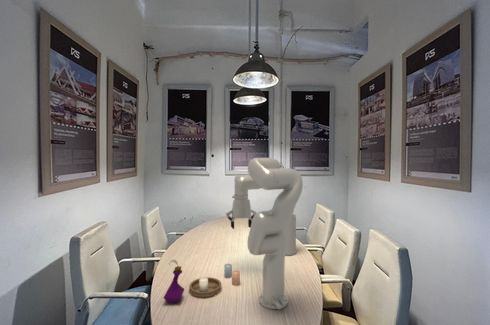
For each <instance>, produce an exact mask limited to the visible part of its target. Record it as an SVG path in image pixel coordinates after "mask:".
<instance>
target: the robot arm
mask: <svg viewBox="0 0 490 325" xmlns="http://www.w3.org/2000/svg"><path fill="white" fill-rule="evenodd" d="M247 172H248V175H246V174H245V175H243V174H242V175H241V174H240V175H238V174H237V175H235V176H234V194H233V195H232V196H231V197H232V199H233V202H232V210H229V211H228V212H226V213H225V215H226V217H227V219H228V220H229V221H230V227H231V229H233V230H234V229H235V220H236V219H248V221H247V223H248V224H247V226H248V228H249V232H248V236H247V249H248V252H249V253H250V254H251V255H253V256H262V255H264V257H263V260H262V294H260V295H259V298H258V301H259V304H260V305H261V306H262V307H263V308H266V309H269V310H281V309H283V308H286V307H287V306H288V304H289V299H288V297H287V296H286V295H285V267H286V266H285V263H286V262H285V259H286V256H285V251H286V246H287V237H286V235H285V233H284V231H286V230H287V229H288V227H289V224H290V221H291V218H292V215H293V214H294V211H295V208H296V205H297V203H298V202H299V199H300V197H301V195H302V192H303V187H304V186H303V176H302V175H301V173H300V172H299V171H298V170H296V169H294V168H286V167H285V168H281V163H280V161H279V160H278V159H277V158H273V157H254V158H251V159H250V161H249V162H248V164H247ZM259 189H262V190H264V191H265V190H266V191H272V190H273V191H274V190H275V191H277V190H282V191H281V192H280V193H279V194H278V196H277V197H275V200H274V203H273V205H272V208H271V209H269V210H263V211H259V212H256V211H255V210H253V209H252V206H251V202H250V198H249V190H259ZM230 215H231V216H232V217H231V216H230Z"/></svg>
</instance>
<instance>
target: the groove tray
mask: <svg viewBox="0 0 490 325" xmlns="http://www.w3.org/2000/svg"><path fill="white" fill-rule="evenodd" d="M206 278H208V292H199V279H200V277H199V278H196V279H195V280H193V281H191V282H190V284H189V285H188V286H189V287H188V288H189V294H190V296H192V297H194V298H197V299H209V298H213V297H216V296H218V293H219V292H222V282H221V280H219V279H218V278H214V277H210V276H209V277H207V276H206ZM219 294H220V293H219ZM215 295H216V296H215Z"/></svg>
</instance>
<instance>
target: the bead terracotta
mask: <svg viewBox="0 0 490 325" xmlns="http://www.w3.org/2000/svg"><path fill="white" fill-rule="evenodd" d="M231 285H232V286H233V285H234V286H235V287H239V286H240V285H241V272H240V270H235V269H234V270H232V277H231Z"/></svg>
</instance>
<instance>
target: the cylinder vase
mask: <svg viewBox="0 0 490 325" xmlns="http://www.w3.org/2000/svg"><path fill="white" fill-rule="evenodd" d="M284 233H285V235H286V237H287V246H286V251H285V257H286V256H294V255H295V254H296V252H297V215H296V214H294V213H293V215H292V218H291V221H290V224H289V227H288V229H287V230H286V231H284Z"/></svg>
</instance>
